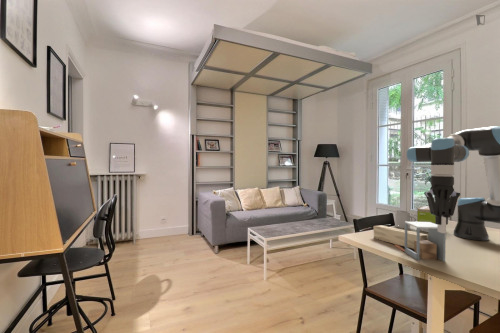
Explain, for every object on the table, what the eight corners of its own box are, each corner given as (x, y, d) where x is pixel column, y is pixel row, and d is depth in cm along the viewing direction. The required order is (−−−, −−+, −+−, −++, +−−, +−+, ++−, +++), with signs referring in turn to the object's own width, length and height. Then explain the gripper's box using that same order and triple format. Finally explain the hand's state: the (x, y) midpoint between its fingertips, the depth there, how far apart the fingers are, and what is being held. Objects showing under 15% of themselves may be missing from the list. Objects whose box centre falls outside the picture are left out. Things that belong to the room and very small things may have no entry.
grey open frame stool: (417, 246, 123) (418, 217, 123) (445, 261, 104) (445, 227, 104) (394, 246, 124) (394, 217, 124) (417, 260, 105) (417, 226, 105)
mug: (393, 227, 161) (393, 211, 161) (397, 225, 167) (397, 209, 167) (414, 231, 152) (414, 214, 152) (417, 229, 158) (417, 212, 158)
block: (427, 255, 112) (427, 240, 112) (436, 260, 106) (436, 244, 106) (414, 254, 112) (414, 239, 112) (422, 259, 106) (422, 243, 106)
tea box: (423, 226, 163) (423, 205, 163) (442, 229, 156) (442, 207, 156) (416, 230, 154) (417, 207, 154) (436, 234, 146) (436, 210, 146)
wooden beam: (381, 237, 138) (381, 225, 139) (429, 249, 114) (428, 234, 115) (373, 238, 136) (373, 226, 136) (420, 250, 112) (420, 235, 112)
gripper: (451, 175, 101) (451, 230, 101) (419, 175, 102) (419, 229, 102) (466, 176, 94) (465, 235, 94) (431, 175, 95) (431, 234, 95)
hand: (441, 232), depth 98 cm, fingers closed
